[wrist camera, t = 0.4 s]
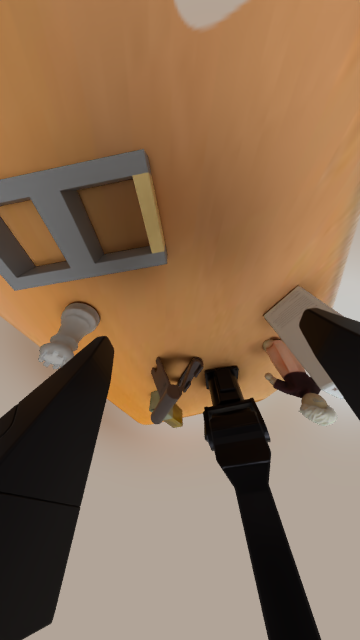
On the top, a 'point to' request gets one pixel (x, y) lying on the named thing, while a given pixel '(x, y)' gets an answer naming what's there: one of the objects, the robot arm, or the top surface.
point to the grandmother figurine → (298, 383)
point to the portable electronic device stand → (171, 387)
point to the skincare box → (287, 327)
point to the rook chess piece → (69, 334)
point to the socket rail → (78, 221)
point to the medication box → (174, 414)
